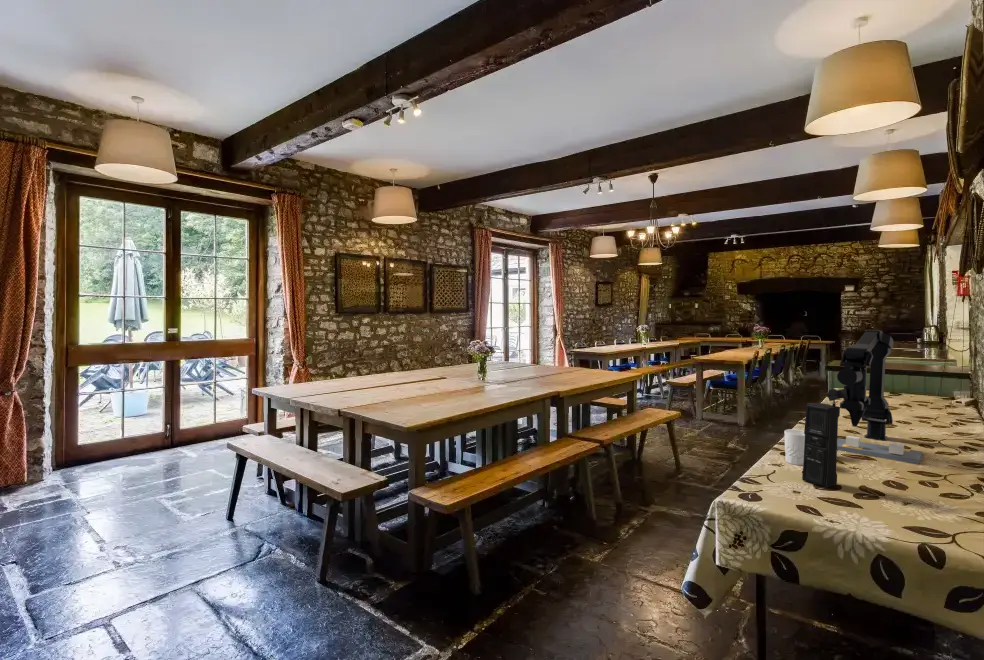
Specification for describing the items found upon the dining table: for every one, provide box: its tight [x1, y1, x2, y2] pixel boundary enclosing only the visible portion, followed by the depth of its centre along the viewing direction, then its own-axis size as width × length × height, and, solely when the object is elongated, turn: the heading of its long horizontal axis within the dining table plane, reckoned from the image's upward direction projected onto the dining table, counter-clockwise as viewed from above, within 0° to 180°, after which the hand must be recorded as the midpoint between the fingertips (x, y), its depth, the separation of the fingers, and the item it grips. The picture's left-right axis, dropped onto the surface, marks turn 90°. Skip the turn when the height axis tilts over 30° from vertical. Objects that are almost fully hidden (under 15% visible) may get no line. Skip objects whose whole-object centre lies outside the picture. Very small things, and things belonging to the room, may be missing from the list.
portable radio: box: [801, 398, 841, 489], centre depth 141 cm, size 8×6×25 cm
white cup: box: [784, 428, 805, 467], centre depth 160 cm, size 8×8×10 cm
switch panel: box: [837, 437, 924, 465], centre depth 172 cm, size 13×24×2 cm, turn 45°
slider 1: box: [845, 435, 861, 447], centre depth 174 cm, size 3×4×3 cm
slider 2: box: [888, 441, 905, 455], centre depth 165 cm, size 3×4×3 cm
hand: (854, 426), depth 175 cm, fingers closed
